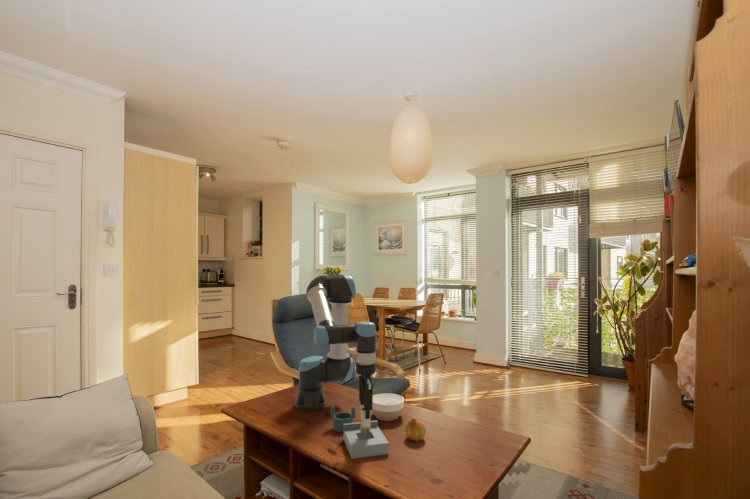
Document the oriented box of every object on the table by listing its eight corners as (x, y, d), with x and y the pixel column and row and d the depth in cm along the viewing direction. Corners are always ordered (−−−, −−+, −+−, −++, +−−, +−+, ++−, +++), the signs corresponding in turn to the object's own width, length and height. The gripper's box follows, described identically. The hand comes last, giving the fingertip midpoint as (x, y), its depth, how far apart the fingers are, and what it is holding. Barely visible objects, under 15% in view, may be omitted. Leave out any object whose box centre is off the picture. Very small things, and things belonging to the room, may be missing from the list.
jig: (343, 439, 150) (343, 423, 150) (377, 435, 154) (377, 420, 154) (351, 458, 135) (351, 441, 135) (388, 453, 139) (388, 437, 139)
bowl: (399, 425, 164) (399, 406, 164) (365, 420, 169) (365, 402, 169) (408, 412, 179) (408, 395, 179) (376, 407, 184) (376, 391, 184)
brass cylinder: (359, 429, 146) (359, 408, 146) (369, 428, 147) (369, 407, 147) (361, 433, 142) (361, 412, 142) (371, 432, 143) (371, 411, 144)
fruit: (398, 434, 149) (409, 418, 149) (404, 428, 157) (414, 412, 156) (415, 449, 146) (426, 432, 145) (421, 442, 154) (431, 426, 153)
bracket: (356, 429, 160) (357, 407, 160) (337, 433, 155) (337, 411, 156) (347, 421, 167) (347, 401, 168) (328, 426, 163) (328, 404, 163)
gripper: (351, 358, 153) (351, 417, 152) (361, 368, 137) (361, 434, 135) (369, 357, 155) (369, 415, 154) (381, 367, 139) (380, 432, 137)
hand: (365, 424), depth 145 cm, fingers closed on brass cylinder, 4 cm apart
